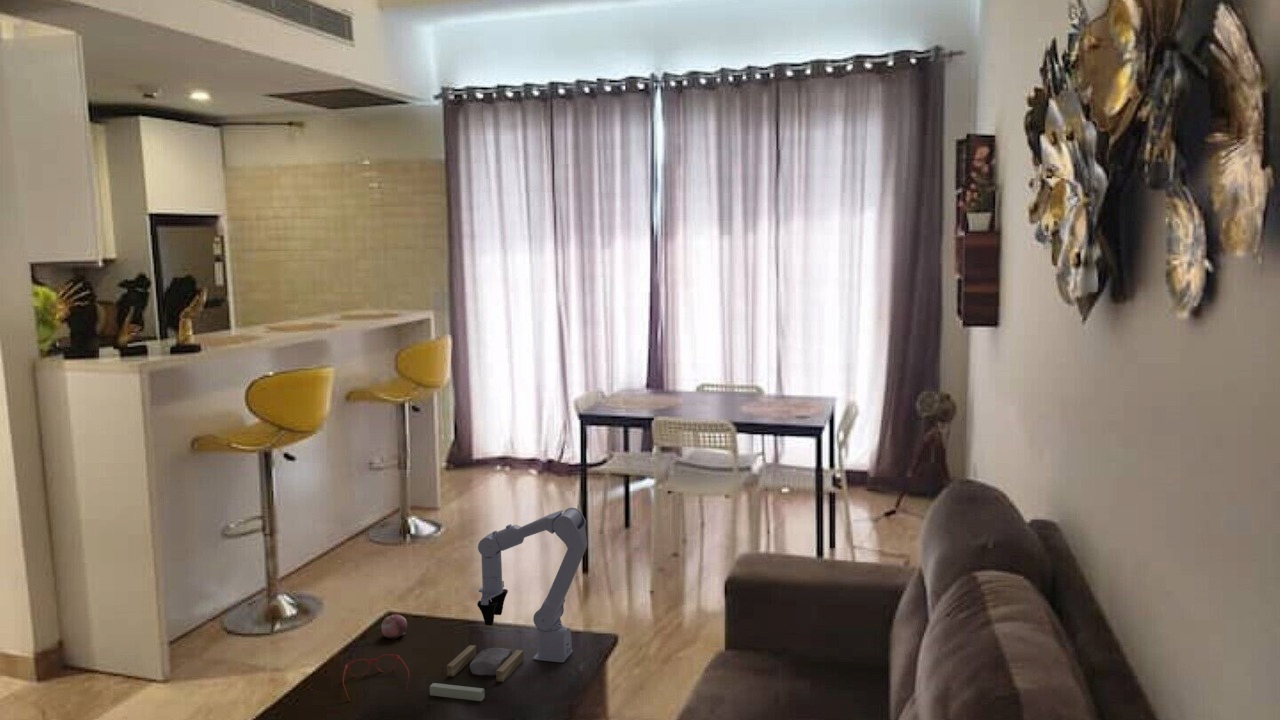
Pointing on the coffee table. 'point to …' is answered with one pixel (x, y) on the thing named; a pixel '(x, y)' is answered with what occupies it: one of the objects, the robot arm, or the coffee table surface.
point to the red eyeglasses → (376, 666)
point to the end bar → (457, 692)
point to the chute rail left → (461, 660)
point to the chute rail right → (509, 665)
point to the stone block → (489, 661)
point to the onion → (394, 626)
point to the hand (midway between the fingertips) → (493, 619)
